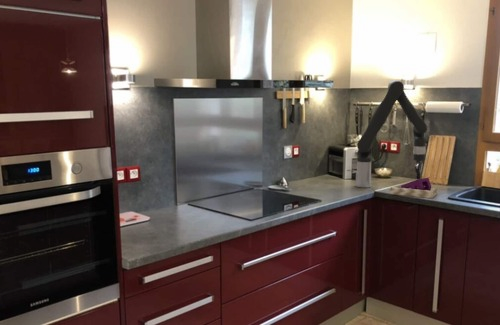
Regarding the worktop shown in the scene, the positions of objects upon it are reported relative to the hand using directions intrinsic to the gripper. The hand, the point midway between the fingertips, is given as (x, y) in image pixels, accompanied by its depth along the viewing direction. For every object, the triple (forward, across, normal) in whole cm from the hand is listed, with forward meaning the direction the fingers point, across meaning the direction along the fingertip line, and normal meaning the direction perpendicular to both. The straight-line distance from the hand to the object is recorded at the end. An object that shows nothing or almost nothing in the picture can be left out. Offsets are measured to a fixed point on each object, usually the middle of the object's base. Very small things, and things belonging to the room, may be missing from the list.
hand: (418, 178), depth 298 cm
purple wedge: (+7, +11, 0) cm, 13 cm away
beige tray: (+6, +19, +1) cm, 20 cm away
